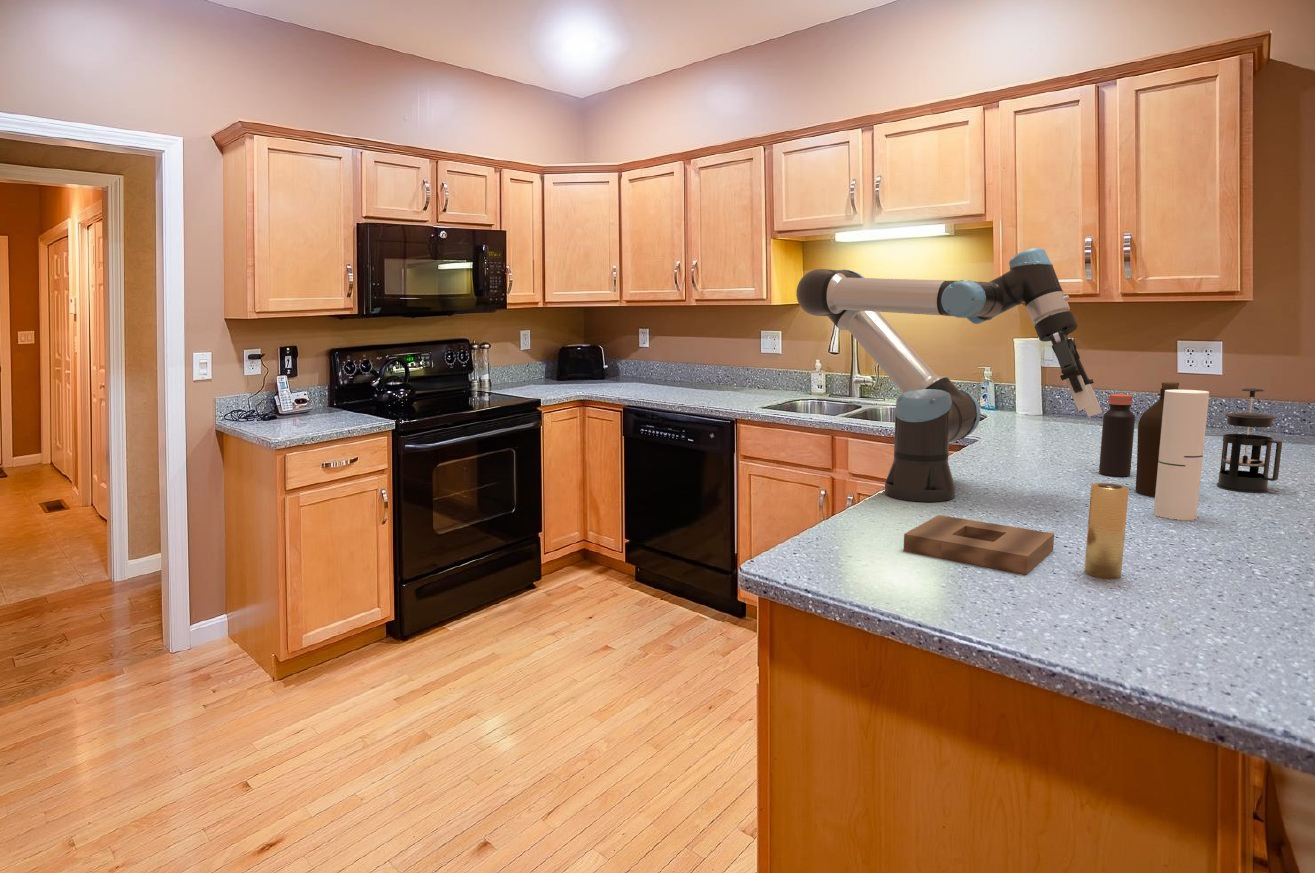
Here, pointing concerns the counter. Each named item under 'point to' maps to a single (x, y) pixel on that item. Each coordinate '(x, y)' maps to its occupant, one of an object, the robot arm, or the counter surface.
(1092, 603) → the counter surface
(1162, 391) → the olive oil
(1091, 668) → the counter surface
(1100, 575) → the brass bushing
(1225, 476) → the french press
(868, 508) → the counter surface
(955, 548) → the walnut jig plate
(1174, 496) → the cylindrical container
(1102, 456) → the bottle
